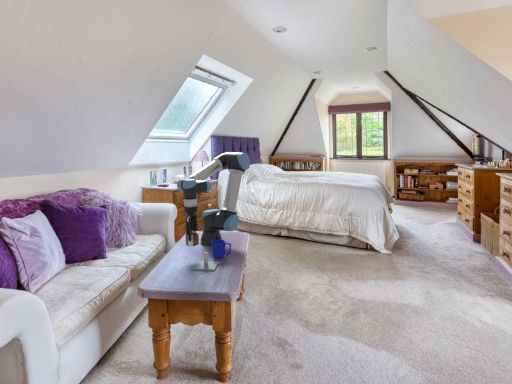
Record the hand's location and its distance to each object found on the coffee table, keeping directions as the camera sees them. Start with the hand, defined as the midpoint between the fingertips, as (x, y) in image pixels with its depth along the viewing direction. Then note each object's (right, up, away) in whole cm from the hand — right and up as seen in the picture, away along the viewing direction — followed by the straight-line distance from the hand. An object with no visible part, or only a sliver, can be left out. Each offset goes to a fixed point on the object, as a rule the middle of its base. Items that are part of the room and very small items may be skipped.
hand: (192, 243), depth 193 cm
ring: (0, 0, 0) cm, 0 cm away
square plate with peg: (+10, -11, -10) cm, 18 cm away
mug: (+17, -9, +5) cm, 20 cm away
